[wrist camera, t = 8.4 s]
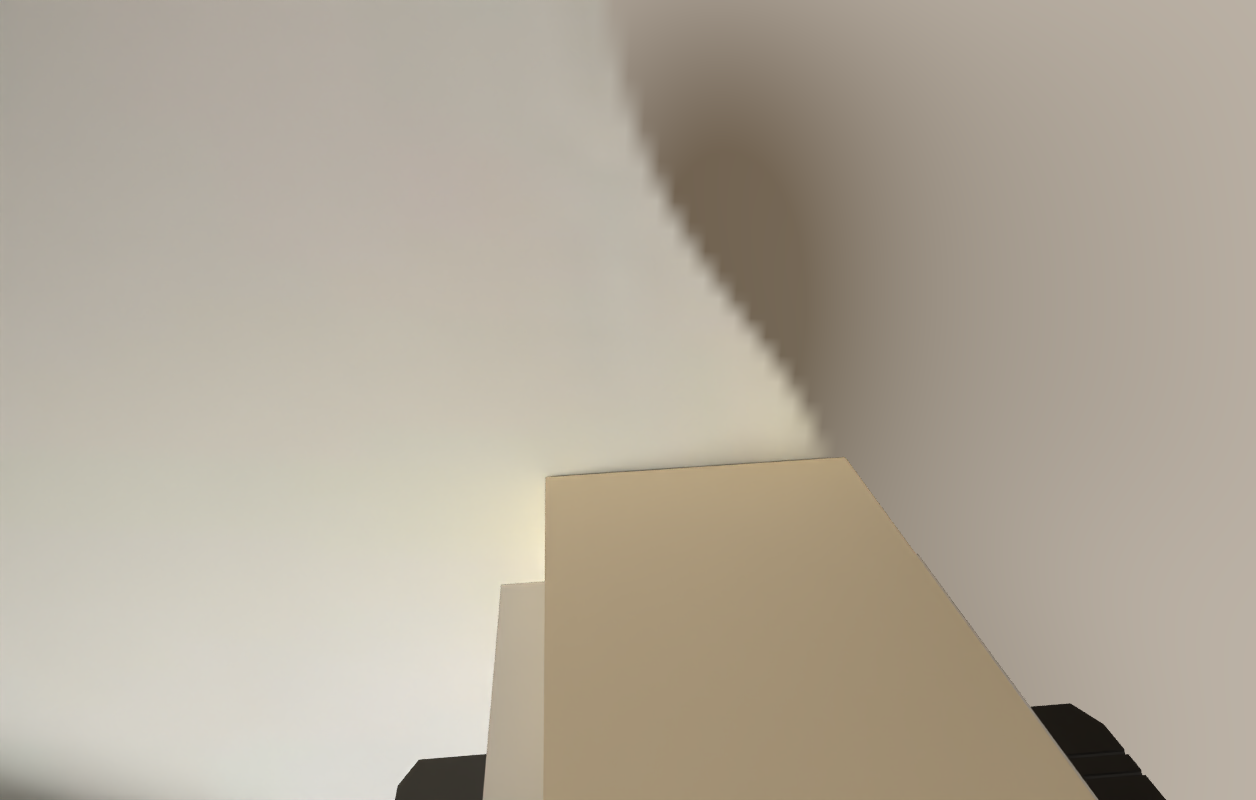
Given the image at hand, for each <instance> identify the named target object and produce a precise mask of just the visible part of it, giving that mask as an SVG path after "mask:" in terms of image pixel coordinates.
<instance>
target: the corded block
mask: <svg viewBox="0 0 1256 800" xmlns="http://www.w3.org/2000/svg"><path fill="white" fill-rule="evenodd" d="M543 800H1095V798H1094V797H1093V796H1092V794H1091V793H1090V792H1089V790H1088V789H1087V787H1086V786H1085V785H1084V783H1083V782H1082V781H1081V779H1080V778H1079V777H1078V775H1077V774H1076V772H1075V771H1074V770H1073V768H1072V767H1071V766H1070V764H1069V763H1068V761H1067V760H1066V759H1065V757H1064V756H1063V755H1062V753H1061V752H1060V751H1059V749H1058V748H1057V746H1056V745H1055V744H1054V742H1053V741H1052V740H1051V738H1050V737H1049V735H1048V734H1047V733H1046V731H1045V730H1044V729H1043V727H1042V726H1041V725H1040V723H1039V722H1038V720H1037V719H1036V718H1035V716H1034V715H1033V714H1032V712H1031V711H1030V709H1029V708H1028V707H1027V705H1026V704H1025V703H1024V701H1023V700H1022V699H1021V697H1020V696H1019V694H1018V693H1017V692H1016V690H1015V689H1014V688H1013V686H1012V685H1011V683H1010V682H1009V681H1008V679H1007V678H1006V677H1005V675H1004V674H1003V673H1002V671H1001V670H1000V668H999V667H998V666H997V664H996V663H995V662H994V660H993V659H992V657H991V656H990V655H989V653H988V652H987V651H986V649H985V648H984V646H983V645H982V644H981V642H980V641H979V640H978V638H977V637H976V636H975V634H974V633H973V631H972V630H971V629H970V627H969V626H968V625H967V623H966V622H965V620H964V619H963V618H962V616H961V615H960V614H959V612H958V611H957V610H956V608H955V607H954V605H953V604H952V603H951V601H950V600H949V599H948V597H947V596H946V594H945V593H944V592H943V590H942V589H941V588H940V586H939V585H938V584H937V582H936V581H935V579H934V578H933V577H932V575H931V574H930V573H929V571H928V570H927V568H926V567H925V566H924V564H923V563H922V562H921V560H920V559H919V558H918V556H917V555H916V553H915V552H914V551H913V549H912V548H911V547H910V545H909V544H908V543H907V541H906V540H905V538H904V537H903V536H902V535H901V533H900V532H899V530H898V529H897V527H896V526H895V525H894V523H893V522H892V521H891V519H890V518H889V517H888V515H887V514H886V512H885V511H884V510H883V508H882V507H881V506H880V504H879V503H878V502H877V500H876V499H875V497H874V496H873V495H872V493H871V492H870V490H869V489H868V488H867V487H866V485H865V484H864V482H863V481H862V480H861V478H860V477H859V476H858V474H857V473H856V471H855V470H854V469H853V467H852V466H851V464H850V463H849V462H848V460H847V459H846V458H845V457H840V458H824V459H809V460H795V461H780V462H765V463H750V464H735V465H720V466H705V467H690V468H675V469H660V470H645V471H630V472H616V473H601V474H586V475H571V476H556V477H546V480H545V623H544V767H543Z"/></svg>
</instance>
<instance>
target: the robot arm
mask: <svg viewBox="0 0 1256 800" xmlns="http://www.w3.org/2000/svg"><path fill="white" fill-rule="evenodd" d="M916 555H917V556H918V558H919V559H920V560H921V562H922V563H923V564H924V566H925V567H926V568H927V570H928V571H929V573H930V574H931V575H932V577H933V578H934V579H935V581H936V582H937V584H938V585H939V586H940V588H941V589H942V590H943V592H944V593H945V594H946V596H947V597H948V599H949V600H950V601H951V603H952V604H953V605H954V607H955V608H956V610H957V611H958V612H959V614H960V615H961V616H962V618H963V619H964V620H965V622H966V623H967V625H968V626H969V627H970V629H971V630H972V631H973V633H974V634H975V636H976V637H977V638H978V640H979V641H980V642H981V644H982V645H983V646H984V648H985V649H986V651H987V652H988V653H989V655H990V656H991V657H992V659H993V660H994V662H995V663H996V664H997V666H998V667H999V668H1000V670H1001V671H1002V673H1003V674H1004V675H1005V677H1006V678H1007V679H1008V681H1009V682H1010V683H1011V685H1012V686H1013V688H1014V689H1015V690H1016V692H1017V693H1018V694H1019V696H1020V697H1021V699H1022V700H1023V701H1024V703H1025V704H1026V705H1027V707H1028V708H1029V709H1030V711H1031V712H1032V714H1033V715H1034V716H1035V718H1036V719H1037V720H1038V722H1039V723H1040V725H1041V726H1042V727H1043V729H1044V730H1045V731H1046V733H1047V734H1048V735H1049V737H1050V738H1051V740H1052V741H1053V742H1054V744H1055V745H1056V746H1057V748H1058V749H1059V751H1060V752H1061V753H1062V755H1063V756H1064V757H1065V759H1066V760H1067V761H1068V763H1069V764H1070V766H1071V767H1072V768H1073V770H1074V771H1075V772H1076V774H1077V775H1078V777H1079V778H1080V779H1081V781H1082V782H1083V783H1084V785H1085V786H1086V787H1087V789H1088V790H1089V792H1090V793H1091V794H1092V796H1093V797H1094V798H1095V800H1166V799H1165V798H1164V797H1163V796H1162V795H1161V793H1160V792H1159V791H1158V790H1157V788H1156V787H1155V786H1154V785H1153V784H1152V782H1151V781H1150V780H1149V779H1148V777H1147V776H1146V775H1142V773H1141V769H1140V768H1139V767H1138V766H1137V764H1136V763H1135V762H1134V761H1133V759H1132V758H1131V757H1130V756H1129V755H1128V754H1126V755H1125V752H1124V748H1123V747H1122V746H1121V745H1120V744H1119V742H1118V741H1117V740H1116V739H1115V737H1114V736H1113V735H1112V734H1111V733H1110V731H1109V730H1108V729H1107V728H1106V727H1105V725H1104V724H1102V723H1101V722H1099V721H1097V720H1096V719H1094V718H1093V717H1091V716H1089V715H1088V714H1086V713H1085V712H1083V711H1082V710H1080V709H1078V708H1077V707H1075V706H1073V705H1072V704H1058V705H1047V706H1034V707H1030V706H1029V705H1028V703H1027V702H1026V700H1025V699H1024V698H1023V696H1022V695H1021V694H1020V692H1019V691H1018V690H1017V688H1016V687H1015V686H1014V684H1013V683H1012V681H1011V680H1010V679H1009V677H1008V676H1007V675H1006V673H1005V672H1004V671H1003V669H1002V668H1001V667H1000V665H999V664H998V663H997V661H996V660H995V659H994V657H993V656H992V654H991V653H990V651H989V650H988V649H987V647H986V646H985V645H984V643H983V642H982V641H981V639H980V638H979V636H978V635H977V634H976V632H975V631H974V630H973V628H972V627H971V626H970V624H969V623H968V622H967V620H966V619H965V617H964V616H963V615H962V613H961V612H960V611H959V609H958V608H957V607H956V605H955V604H954V602H953V601H952V600H951V599H950V597H949V596H948V594H947V593H946V592H945V590H944V589H943V588H942V586H941V585H940V584H939V582H938V581H937V579H936V578H935V577H934V575H933V574H932V573H931V571H930V570H929V569H928V567H927V566H926V564H925V563H924V562H923V560H922V559H921V558H920V556H919V555H918V554H916ZM544 623H545V581H544V582H531V583H517V584H504V585H501V593H500V604H499V616H498V627H497V639H496V651H495V662H494V674H493V686H492V697H491V709H490V721H489V732H488V744H487V754H483V755H470V756H458V757H446V758H434V759H422V760H418V761H417V763H416V764H415V765H414V766H413V768H412V769H411V770H410V771H409V773H408V774H407V775H406V776H405V778H404V779H403V780H402V781H401V783H400V784H399V785H398V788H397V793H396V798H395V800H543V767H544Z"/></svg>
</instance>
